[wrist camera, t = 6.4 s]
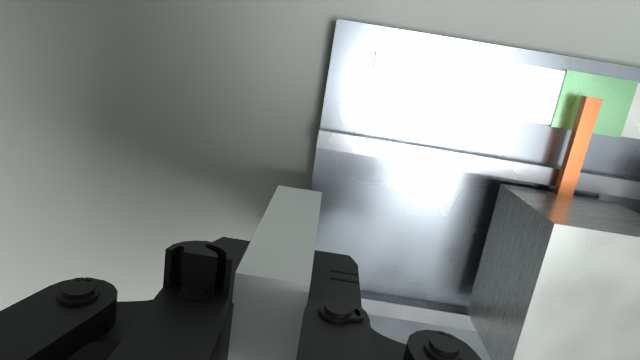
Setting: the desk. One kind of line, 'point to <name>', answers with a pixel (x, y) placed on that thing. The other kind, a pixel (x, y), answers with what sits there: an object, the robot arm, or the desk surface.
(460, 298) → the bench
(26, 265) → the desk surface
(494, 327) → the block
